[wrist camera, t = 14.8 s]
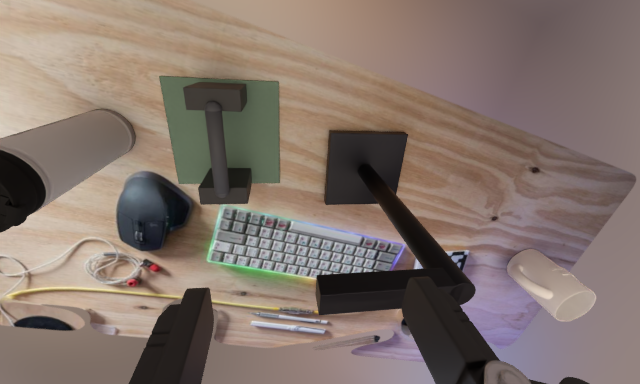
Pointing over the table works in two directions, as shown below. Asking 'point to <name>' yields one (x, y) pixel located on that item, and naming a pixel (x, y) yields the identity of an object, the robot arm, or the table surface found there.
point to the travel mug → (57, 160)
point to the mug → (551, 285)
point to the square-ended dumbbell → (219, 141)
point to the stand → (380, 188)
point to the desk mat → (225, 131)
